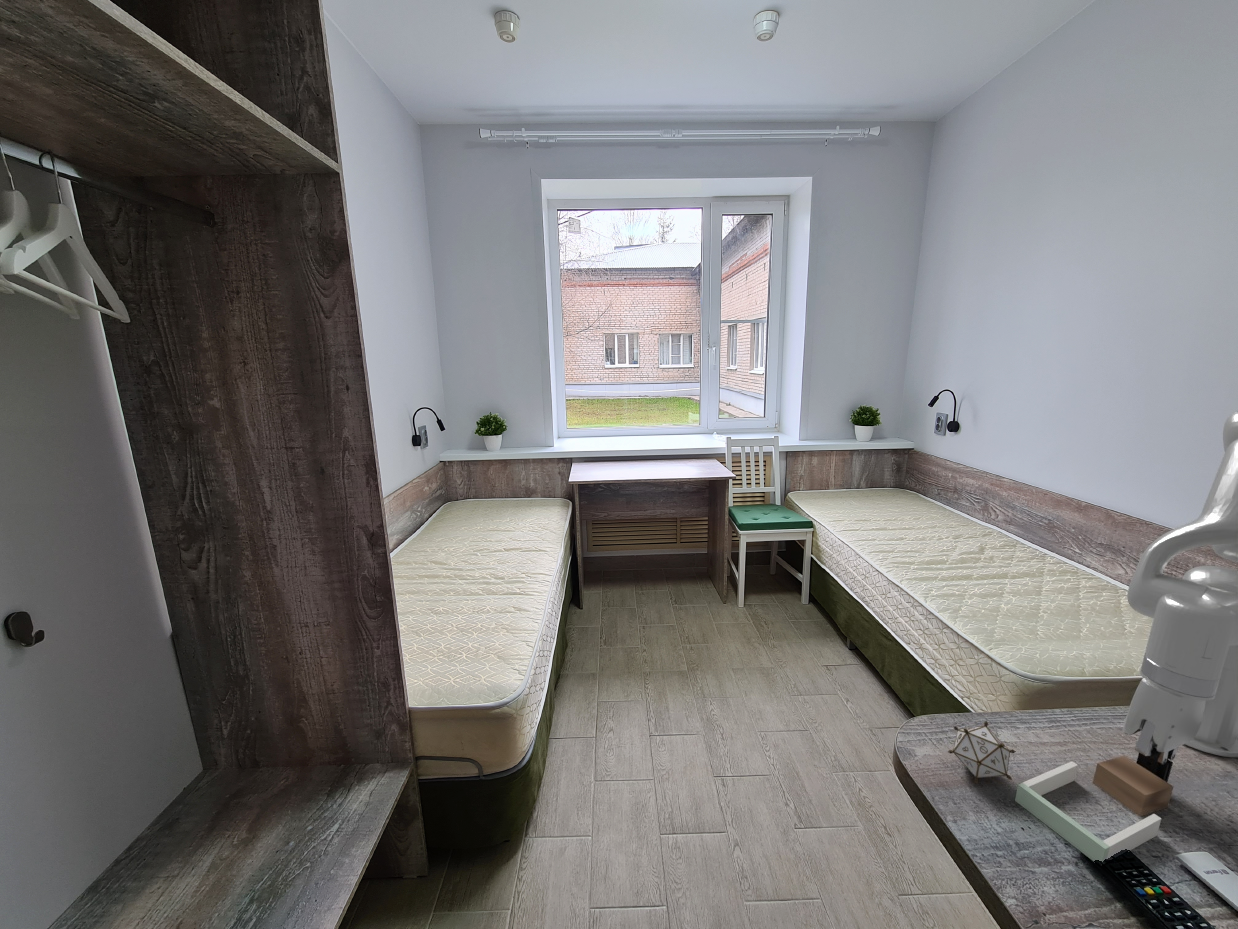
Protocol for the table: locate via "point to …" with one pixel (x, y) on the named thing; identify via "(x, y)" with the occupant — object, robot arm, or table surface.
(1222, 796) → the table surface
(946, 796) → the table surface
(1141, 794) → the walnut block
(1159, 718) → the robot arm
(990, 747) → the game die
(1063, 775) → the walled bay
